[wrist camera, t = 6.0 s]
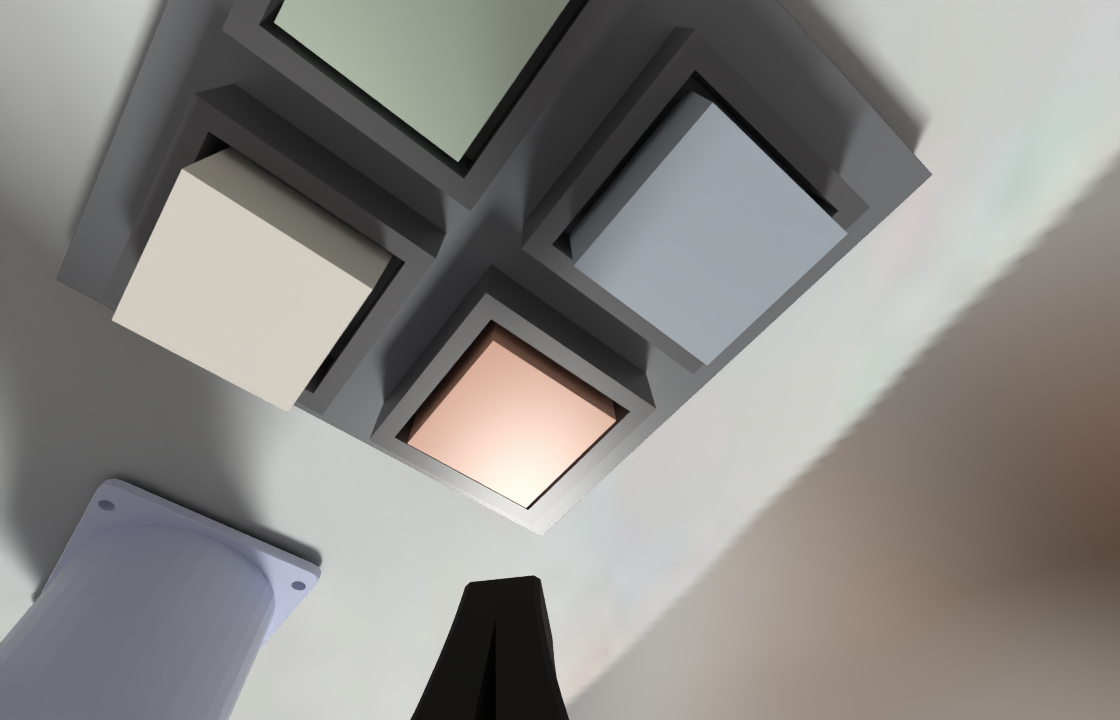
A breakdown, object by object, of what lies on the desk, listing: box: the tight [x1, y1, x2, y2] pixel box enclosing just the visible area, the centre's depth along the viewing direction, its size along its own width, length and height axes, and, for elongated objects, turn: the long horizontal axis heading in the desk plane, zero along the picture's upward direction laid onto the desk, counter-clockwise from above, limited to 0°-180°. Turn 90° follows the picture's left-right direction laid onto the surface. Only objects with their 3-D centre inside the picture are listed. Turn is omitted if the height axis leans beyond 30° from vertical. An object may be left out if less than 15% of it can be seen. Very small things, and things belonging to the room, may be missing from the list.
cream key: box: [112, 147, 393, 412], centre depth 13 cm, size 4×4×2 cm
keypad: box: [57, 0, 932, 536], centre depth 15 cm, size 16×16×3 cm
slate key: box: [569, 89, 848, 365], centre depth 13 cm, size 4×4×2 cm
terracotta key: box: [407, 319, 616, 508], centre depth 17 cm, size 4×4×2 cm
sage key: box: [274, 0, 569, 162], centre depth 11 cm, size 4×4×2 cm
